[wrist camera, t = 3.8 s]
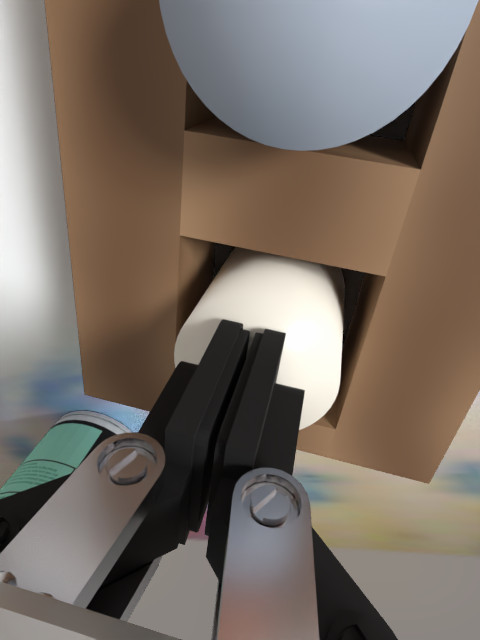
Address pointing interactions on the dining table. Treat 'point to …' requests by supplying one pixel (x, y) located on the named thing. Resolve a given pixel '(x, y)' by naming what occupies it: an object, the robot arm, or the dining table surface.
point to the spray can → (62, 449)
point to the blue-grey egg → (312, 62)
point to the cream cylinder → (278, 320)
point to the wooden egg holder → (270, 231)
